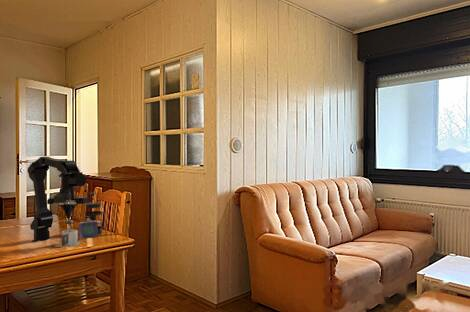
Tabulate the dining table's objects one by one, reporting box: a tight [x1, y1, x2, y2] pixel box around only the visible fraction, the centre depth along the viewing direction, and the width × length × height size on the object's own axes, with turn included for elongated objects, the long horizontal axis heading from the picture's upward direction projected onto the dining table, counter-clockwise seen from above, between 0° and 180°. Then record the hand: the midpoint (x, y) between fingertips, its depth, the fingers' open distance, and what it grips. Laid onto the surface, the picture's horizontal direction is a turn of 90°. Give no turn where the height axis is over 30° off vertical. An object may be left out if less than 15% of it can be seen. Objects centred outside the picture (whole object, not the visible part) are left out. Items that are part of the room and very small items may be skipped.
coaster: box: [53, 241, 84, 248], centre depth 174 cm, size 10×10×1 cm
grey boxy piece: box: [60, 229, 79, 246], centre depth 173 cm, size 7×9×6 cm
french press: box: [83, 192, 107, 235], centre depth 200 cm, size 12×9×23 cm
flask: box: [78, 217, 99, 240], centre depth 188 cm, size 9×3×11 cm, turn 121°
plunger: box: [64, 219, 74, 232], centre depth 174 cm, size 4×4×6 cm
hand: (68, 218), depth 174 cm, fingers closed
